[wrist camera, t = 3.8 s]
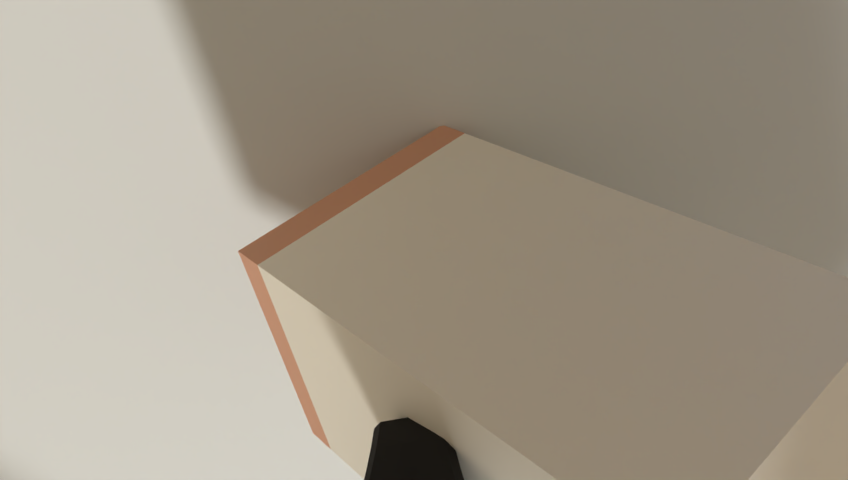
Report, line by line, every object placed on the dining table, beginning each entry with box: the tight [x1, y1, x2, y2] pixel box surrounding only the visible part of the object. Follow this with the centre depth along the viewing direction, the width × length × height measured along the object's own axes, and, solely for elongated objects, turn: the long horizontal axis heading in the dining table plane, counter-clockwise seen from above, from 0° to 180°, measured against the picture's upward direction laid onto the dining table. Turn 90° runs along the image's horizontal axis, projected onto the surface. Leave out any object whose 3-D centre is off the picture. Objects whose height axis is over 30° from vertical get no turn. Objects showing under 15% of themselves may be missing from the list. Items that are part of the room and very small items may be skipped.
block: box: [238, 126, 848, 480], centre depth 12 cm, size 4×4×8 cm
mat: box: [0, 0, 848, 480], centre depth 16 cm, size 18×24×1 cm
